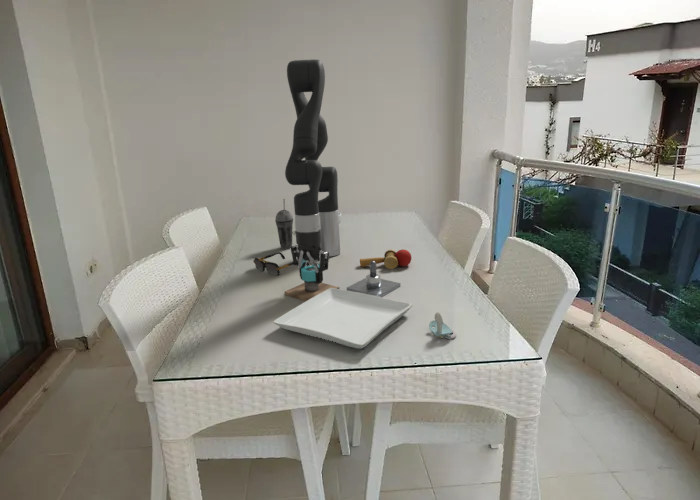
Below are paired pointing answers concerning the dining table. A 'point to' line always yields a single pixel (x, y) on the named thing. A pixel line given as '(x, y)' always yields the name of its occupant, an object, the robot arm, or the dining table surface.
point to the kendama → (390, 259)
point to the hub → (374, 284)
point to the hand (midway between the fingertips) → (311, 280)
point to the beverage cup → (284, 227)
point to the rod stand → (308, 289)
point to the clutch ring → (308, 274)
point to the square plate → (344, 317)
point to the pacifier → (441, 327)
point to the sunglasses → (271, 264)
